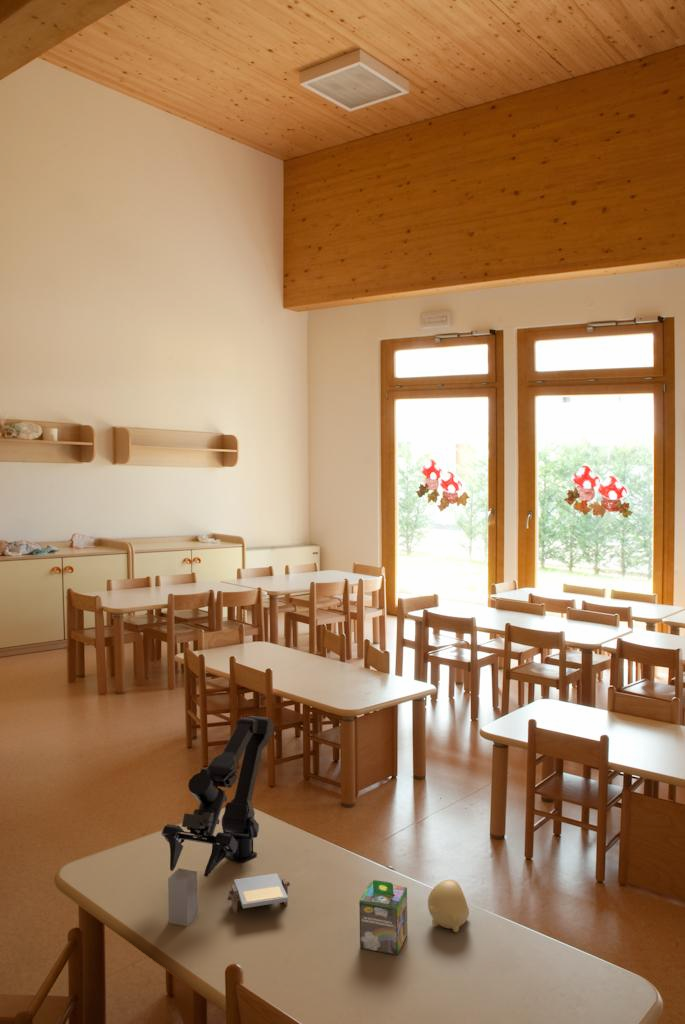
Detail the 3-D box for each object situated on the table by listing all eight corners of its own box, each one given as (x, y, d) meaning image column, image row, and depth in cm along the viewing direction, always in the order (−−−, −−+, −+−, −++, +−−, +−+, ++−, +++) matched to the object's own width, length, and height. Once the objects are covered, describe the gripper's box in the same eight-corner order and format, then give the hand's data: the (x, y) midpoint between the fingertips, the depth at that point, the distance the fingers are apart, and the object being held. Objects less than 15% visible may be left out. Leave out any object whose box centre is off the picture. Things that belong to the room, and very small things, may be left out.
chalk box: (408, 934, 195) (408, 873, 194) (397, 956, 187) (398, 892, 186) (370, 927, 198) (370, 866, 197) (358, 948, 190) (358, 885, 189)
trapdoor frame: (225, 896, 211) (225, 875, 211) (283, 888, 216) (283, 867, 215) (230, 913, 204) (230, 891, 203) (290, 904, 208) (290, 882, 208)
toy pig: (468, 943, 198) (479, 899, 205) (459, 924, 190) (471, 879, 197) (429, 931, 202) (441, 888, 209) (418, 912, 194) (431, 868, 201)
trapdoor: (234, 895, 210) (234, 879, 210) (277, 888, 214) (277, 872, 213) (242, 920, 199) (242, 903, 199) (287, 913, 202) (287, 896, 202)
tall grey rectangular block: (179, 911, 205) (178, 868, 204) (197, 915, 203) (197, 871, 202) (168, 922, 200) (168, 878, 199) (187, 926, 198) (187, 881, 197)
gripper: (164, 792, 210) (141, 855, 200) (232, 802, 204) (212, 867, 195) (180, 810, 218) (158, 871, 208) (246, 821, 212) (227, 884, 203)
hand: (188, 873), depth 203 cm, fingers open, 9 cm apart
